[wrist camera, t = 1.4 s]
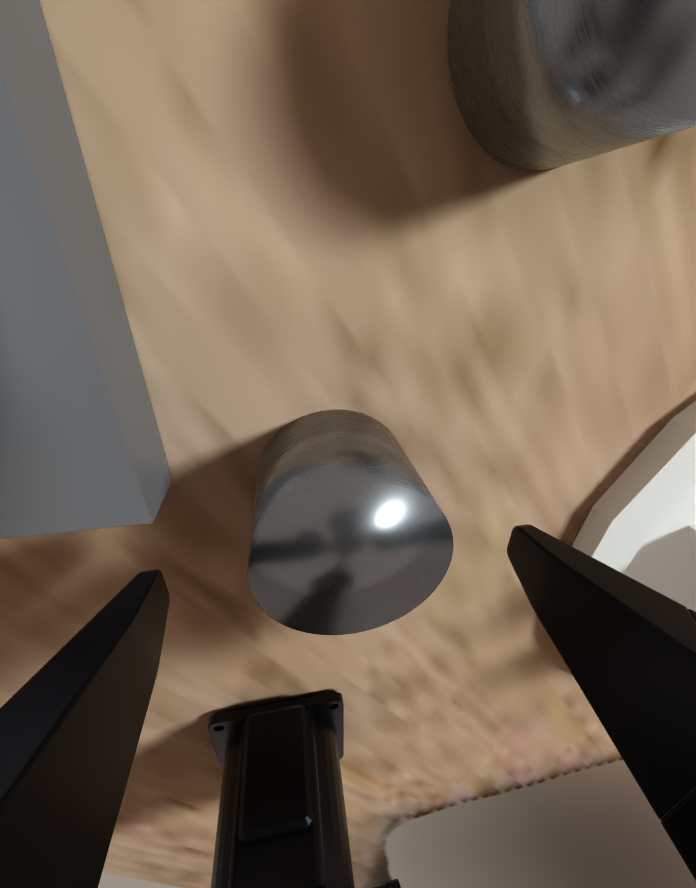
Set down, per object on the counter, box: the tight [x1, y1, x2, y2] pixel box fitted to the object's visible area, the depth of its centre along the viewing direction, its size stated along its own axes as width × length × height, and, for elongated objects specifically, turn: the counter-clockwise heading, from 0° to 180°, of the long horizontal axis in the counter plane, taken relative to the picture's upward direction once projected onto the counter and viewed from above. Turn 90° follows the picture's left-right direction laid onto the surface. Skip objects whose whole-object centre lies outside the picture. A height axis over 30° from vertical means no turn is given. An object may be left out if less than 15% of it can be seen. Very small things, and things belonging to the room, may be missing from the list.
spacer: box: [248, 410, 453, 635], centre depth 10 cm, size 5×5×4 cm
